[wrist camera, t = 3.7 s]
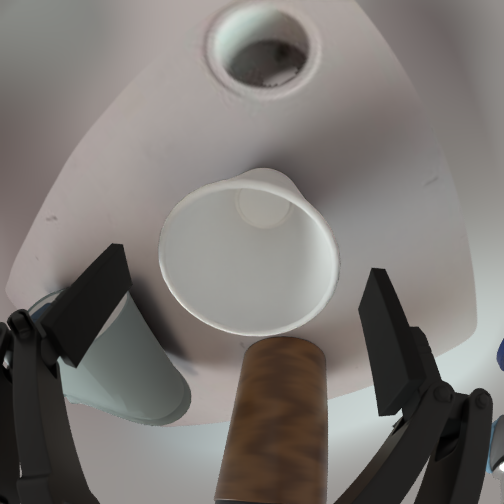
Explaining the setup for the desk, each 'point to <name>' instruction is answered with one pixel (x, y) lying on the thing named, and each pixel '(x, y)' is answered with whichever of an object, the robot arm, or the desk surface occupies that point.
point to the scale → (237, 502)
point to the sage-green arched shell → (124, 370)
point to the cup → (249, 255)
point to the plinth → (278, 426)
